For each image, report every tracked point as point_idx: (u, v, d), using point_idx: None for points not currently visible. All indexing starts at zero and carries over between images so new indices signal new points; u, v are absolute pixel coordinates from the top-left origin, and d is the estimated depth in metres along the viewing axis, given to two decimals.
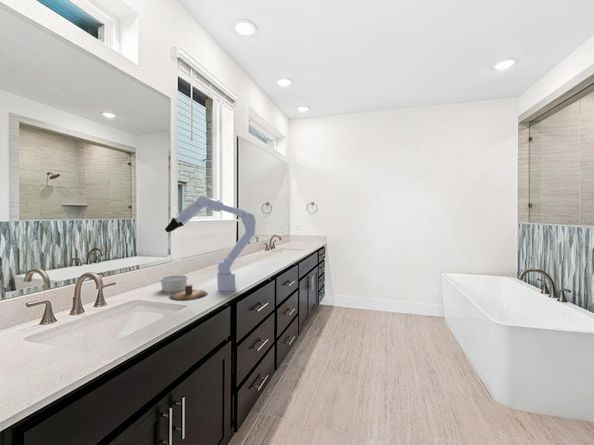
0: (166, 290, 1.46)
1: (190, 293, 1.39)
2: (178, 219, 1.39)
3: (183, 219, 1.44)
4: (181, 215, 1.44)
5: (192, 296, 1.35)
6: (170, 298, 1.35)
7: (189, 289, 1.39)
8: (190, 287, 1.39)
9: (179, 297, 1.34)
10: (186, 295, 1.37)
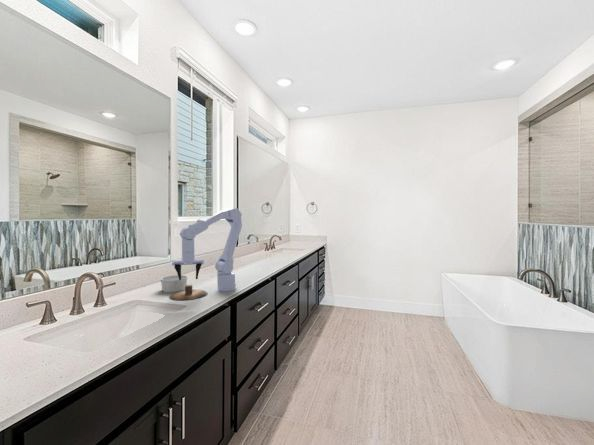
0: (166, 290, 1.46)
1: (190, 293, 1.39)
2: (203, 261, 1.42)
3: None
4: (193, 258, 1.39)
5: (192, 296, 1.35)
6: (170, 298, 1.35)
7: (189, 289, 1.39)
8: (190, 287, 1.39)
9: (179, 297, 1.34)
10: (186, 295, 1.37)
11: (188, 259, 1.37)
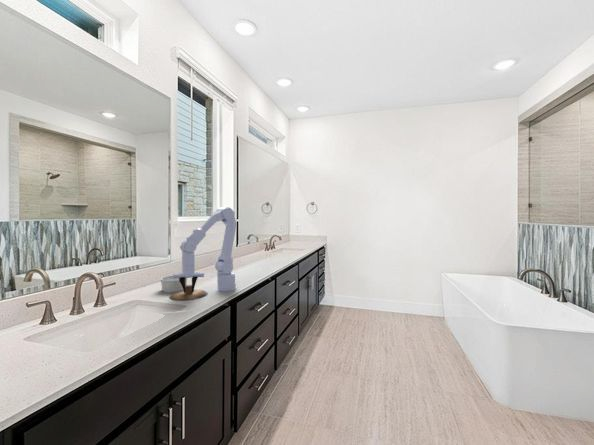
0: (166, 290, 1.46)
1: (190, 293, 1.39)
2: None
3: None
4: (193, 271, 1.39)
5: (192, 296, 1.35)
6: (170, 298, 1.35)
7: (189, 289, 1.39)
8: (190, 287, 1.39)
9: (179, 297, 1.34)
10: (186, 295, 1.37)
11: (188, 272, 1.38)
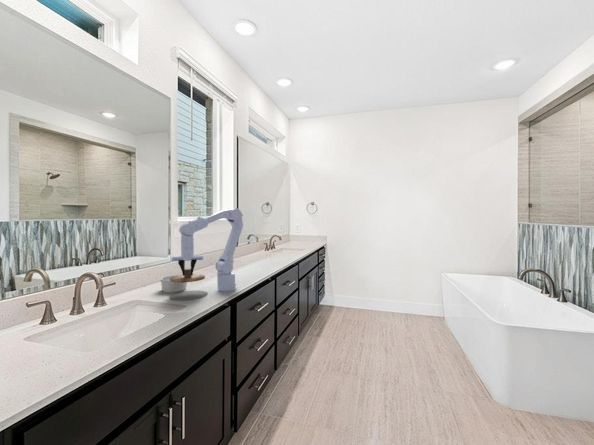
0: (166, 290, 1.46)
1: (189, 276, 1.39)
2: (202, 257, 1.42)
3: None
4: (192, 254, 1.40)
5: (191, 279, 1.36)
6: (170, 298, 1.35)
7: (188, 272, 1.39)
8: (189, 270, 1.39)
9: (178, 280, 1.34)
10: (185, 278, 1.37)
11: (187, 255, 1.38)
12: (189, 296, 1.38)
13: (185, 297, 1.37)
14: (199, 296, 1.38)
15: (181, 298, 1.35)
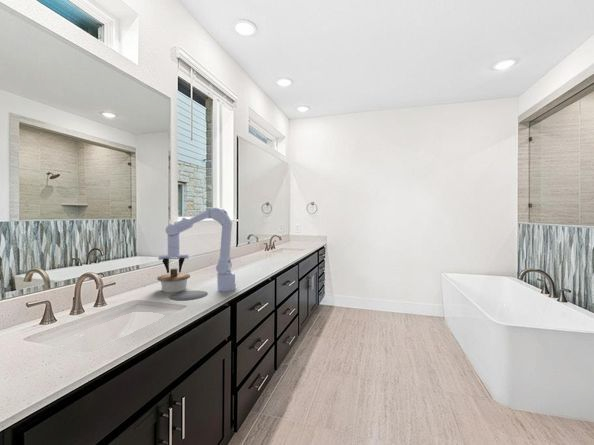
0: (166, 290, 1.46)
1: (175, 276, 1.50)
2: None
3: None
4: (178, 252, 1.51)
5: (177, 278, 1.47)
6: (170, 298, 1.35)
7: (174, 272, 1.50)
8: (175, 270, 1.50)
9: (164, 279, 1.45)
10: (171, 277, 1.48)
11: (173, 254, 1.49)
12: (189, 296, 1.38)
13: (185, 297, 1.37)
14: (199, 296, 1.38)
15: (181, 298, 1.35)
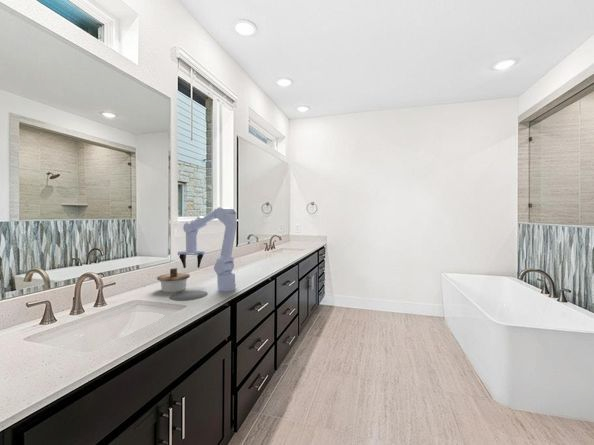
0: (166, 290, 1.46)
1: (175, 275, 1.50)
2: (204, 252, 1.62)
3: (196, 250, 1.62)
4: (195, 249, 1.60)
5: (176, 278, 1.47)
6: (170, 298, 1.35)
7: (174, 272, 1.50)
8: (175, 270, 1.50)
9: (164, 278, 1.45)
10: (171, 277, 1.48)
11: (190, 250, 1.58)
12: (189, 296, 1.38)
13: (185, 297, 1.37)
14: (199, 296, 1.38)
15: (181, 298, 1.35)
